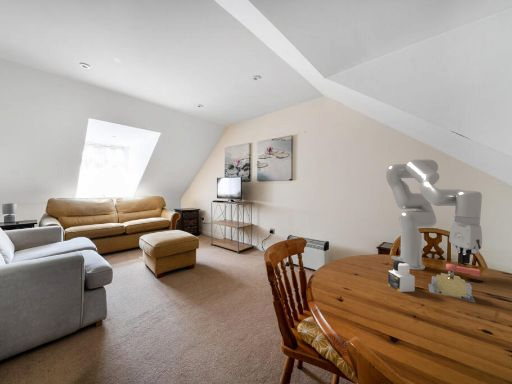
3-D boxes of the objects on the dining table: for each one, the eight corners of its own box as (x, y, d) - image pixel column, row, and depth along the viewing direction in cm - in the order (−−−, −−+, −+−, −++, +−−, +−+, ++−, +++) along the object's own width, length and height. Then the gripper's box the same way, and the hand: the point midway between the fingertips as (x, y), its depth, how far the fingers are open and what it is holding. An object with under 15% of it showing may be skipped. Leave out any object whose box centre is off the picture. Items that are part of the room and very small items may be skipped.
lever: (446, 267, 91) (446, 262, 91) (479, 274, 84) (479, 269, 84) (445, 270, 89) (445, 265, 89) (479, 277, 82) (479, 271, 82)
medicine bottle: (387, 285, 98) (388, 259, 97) (402, 284, 99) (402, 259, 98) (399, 293, 91) (399, 265, 90) (414, 292, 91) (415, 265, 91)
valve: (432, 292, 90) (432, 269, 90) (431, 286, 95) (432, 265, 95) (471, 301, 83) (472, 277, 83) (468, 294, 88) (469, 271, 88)
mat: (429, 293, 91) (429, 291, 91) (428, 285, 98) (428, 283, 98) (475, 304, 82) (475, 302, 82) (470, 294, 89) (471, 292, 89)
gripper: (442, 216, 96) (440, 256, 97) (475, 224, 81) (472, 270, 82) (459, 216, 96) (456, 256, 97) (495, 224, 81) (491, 270, 82)
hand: (463, 262), depth 90 cm, fingers closed
